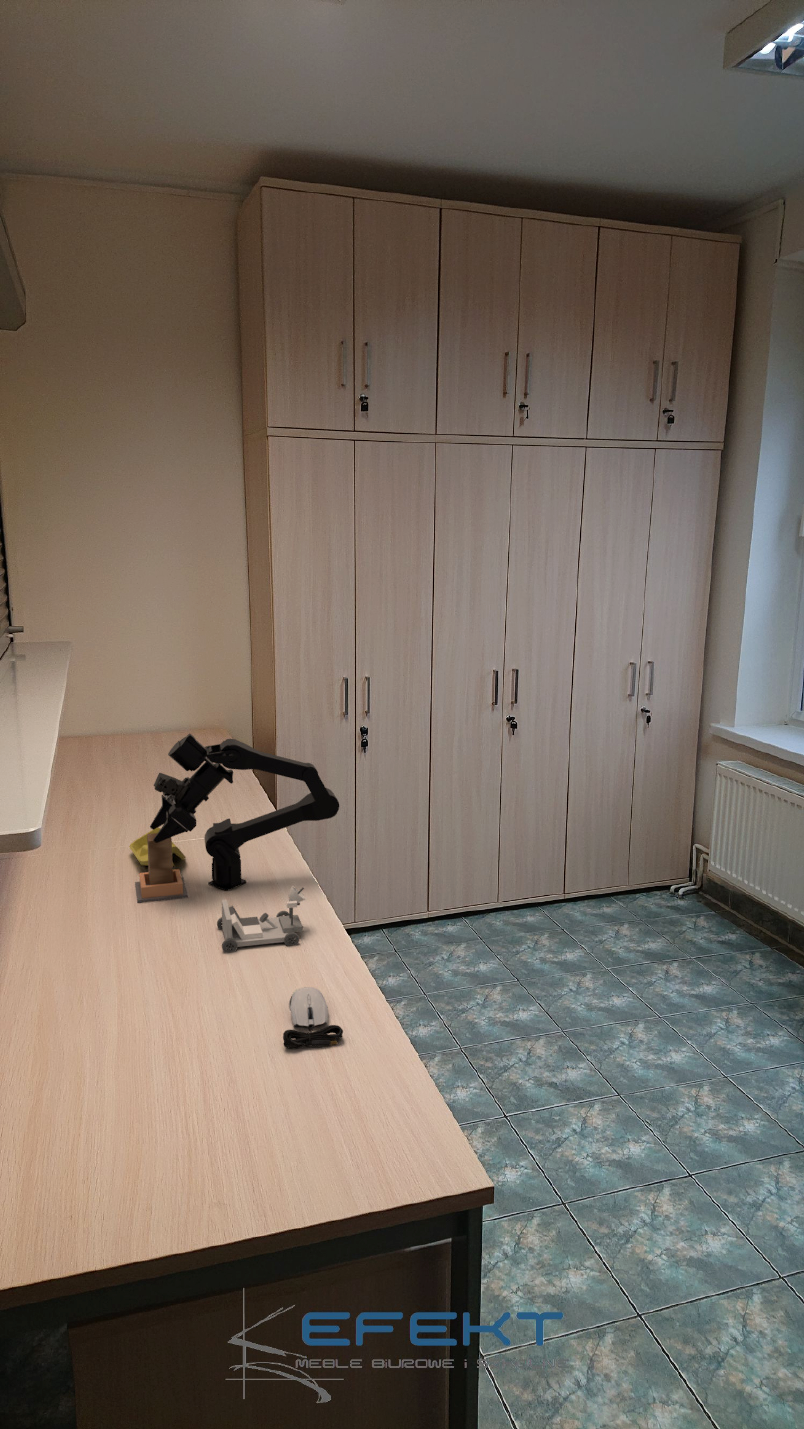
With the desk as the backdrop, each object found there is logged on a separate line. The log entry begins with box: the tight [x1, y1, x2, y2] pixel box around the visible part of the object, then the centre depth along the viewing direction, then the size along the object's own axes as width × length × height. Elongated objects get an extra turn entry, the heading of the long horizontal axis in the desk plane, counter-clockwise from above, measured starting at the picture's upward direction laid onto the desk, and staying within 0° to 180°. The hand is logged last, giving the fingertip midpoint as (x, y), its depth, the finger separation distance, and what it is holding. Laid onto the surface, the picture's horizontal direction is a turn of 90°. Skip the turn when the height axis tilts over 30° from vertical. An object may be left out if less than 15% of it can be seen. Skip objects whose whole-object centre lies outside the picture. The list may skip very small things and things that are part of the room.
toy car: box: [216, 885, 307, 954], centre depth 191 cm, size 18×10×12 cm
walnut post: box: [147, 833, 174, 885], centre depth 212 cm, size 5×5×12 cm
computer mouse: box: [282, 986, 344, 1050], centre depth 160 cm, size 10×18×4 cm, turn 12°
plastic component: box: [128, 827, 187, 867], centre depth 230 cm, size 20×7×10 cm
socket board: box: [134, 868, 189, 904], centre depth 213 cm, size 11×11×3 cm
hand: (153, 834), depth 210 cm, fingers open, 9 cm apart
